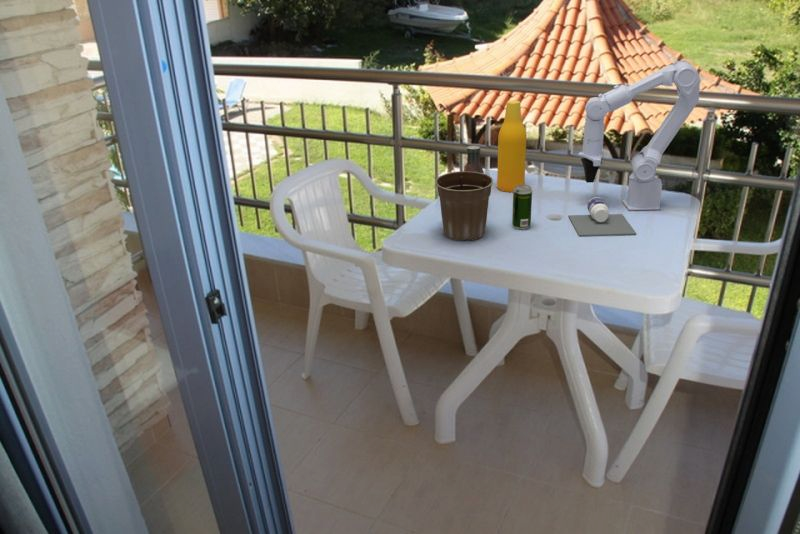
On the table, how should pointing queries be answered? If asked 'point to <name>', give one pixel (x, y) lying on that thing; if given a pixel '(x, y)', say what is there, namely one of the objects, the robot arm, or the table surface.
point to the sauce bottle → (473, 160)
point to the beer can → (522, 207)
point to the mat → (601, 225)
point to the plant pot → (464, 203)
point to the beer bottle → (511, 149)
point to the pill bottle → (598, 209)
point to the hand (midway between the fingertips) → (589, 181)
